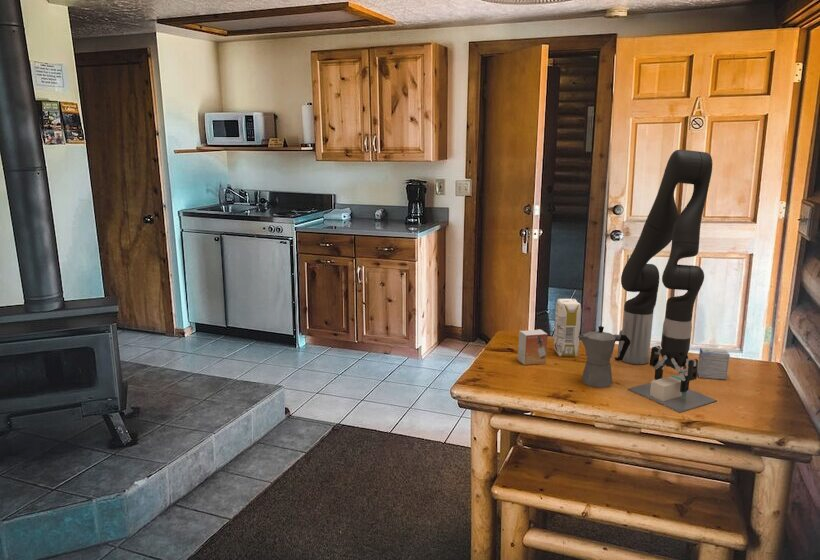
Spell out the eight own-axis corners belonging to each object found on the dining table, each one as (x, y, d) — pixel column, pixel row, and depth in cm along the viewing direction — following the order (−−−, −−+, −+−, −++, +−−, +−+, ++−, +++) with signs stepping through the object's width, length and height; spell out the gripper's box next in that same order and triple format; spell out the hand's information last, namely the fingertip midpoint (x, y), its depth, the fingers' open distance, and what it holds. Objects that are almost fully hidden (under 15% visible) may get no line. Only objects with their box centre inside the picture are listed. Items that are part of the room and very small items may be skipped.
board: (627, 389, 180) (627, 388, 180) (664, 380, 187) (664, 378, 187) (679, 412, 165) (680, 411, 164) (717, 401, 172) (717, 400, 172)
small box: (524, 365, 199) (525, 335, 197) (517, 360, 204) (518, 330, 202) (546, 363, 201) (548, 333, 199) (539, 358, 206) (540, 328, 204)
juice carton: (557, 357, 207) (561, 304, 203) (551, 349, 215) (555, 297, 211) (579, 357, 207) (583, 304, 203) (572, 349, 215) (576, 297, 211)
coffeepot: (576, 387, 182) (581, 330, 178) (572, 375, 191) (576, 321, 187) (629, 390, 180) (635, 332, 176) (623, 378, 189) (628, 323, 185)
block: (662, 401, 171) (686, 394, 176) (664, 386, 170) (687, 380, 175) (649, 395, 175) (673, 389, 180) (651, 381, 174) (674, 375, 179)
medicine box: (723, 375, 192) (726, 349, 190) (726, 380, 188) (730, 354, 186) (696, 372, 194) (699, 347, 192) (699, 377, 190) (702, 351, 188)
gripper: (707, 338, 167) (700, 393, 171) (664, 325, 179) (659, 376, 183) (689, 342, 164) (683, 398, 167) (647, 328, 176) (641, 380, 180)
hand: (670, 386), depth 175 cm, fingers open, 8 cm apart
